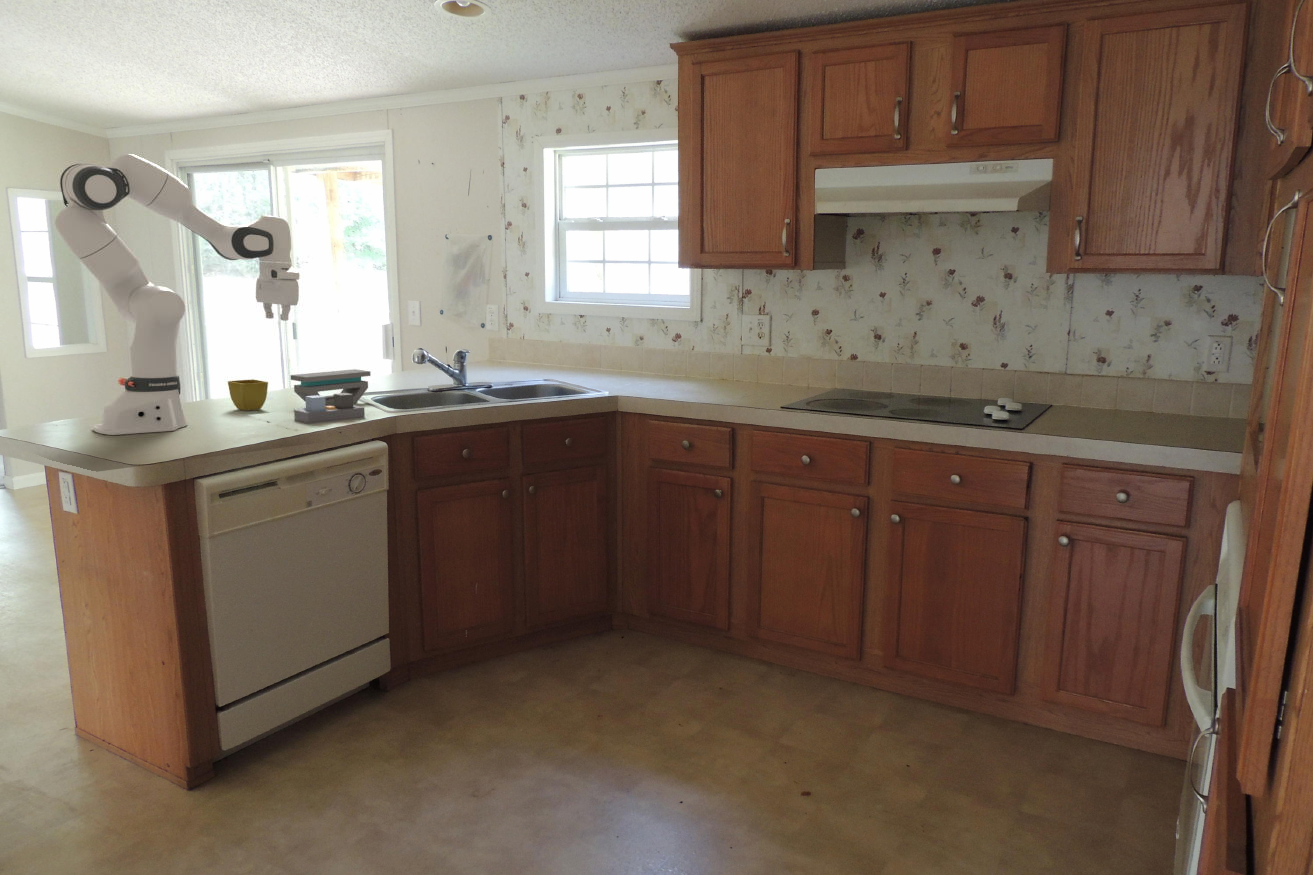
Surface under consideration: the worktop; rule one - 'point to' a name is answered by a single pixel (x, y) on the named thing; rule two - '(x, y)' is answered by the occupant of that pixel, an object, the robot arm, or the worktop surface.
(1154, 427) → the worktop surface
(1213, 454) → the worktop surface
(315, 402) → the plug
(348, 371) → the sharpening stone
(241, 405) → the flower pot
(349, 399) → the twin plug
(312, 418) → the strip
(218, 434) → the worktop surface
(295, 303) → the robot arm
